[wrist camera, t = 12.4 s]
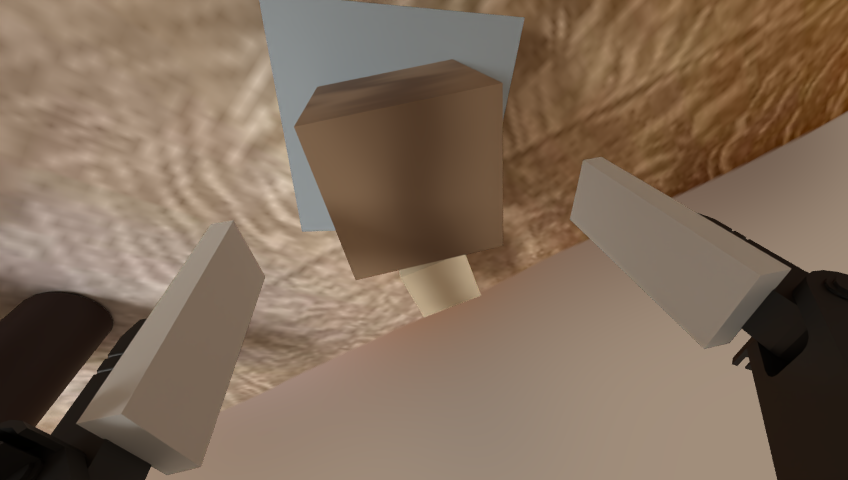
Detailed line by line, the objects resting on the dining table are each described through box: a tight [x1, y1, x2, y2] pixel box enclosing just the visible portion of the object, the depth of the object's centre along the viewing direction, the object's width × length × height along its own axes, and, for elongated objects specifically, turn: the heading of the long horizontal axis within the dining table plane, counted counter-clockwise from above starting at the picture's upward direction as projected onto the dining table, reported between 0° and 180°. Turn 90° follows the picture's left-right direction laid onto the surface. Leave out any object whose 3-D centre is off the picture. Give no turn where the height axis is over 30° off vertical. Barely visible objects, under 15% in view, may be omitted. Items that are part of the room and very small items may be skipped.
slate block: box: [259, 0, 524, 232], centre depth 23 cm, size 14×14×6 cm
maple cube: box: [399, 255, 481, 317], centre depth 31 cm, size 6×6×6 cm
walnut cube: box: [294, 59, 503, 280], centre depth 17 cm, size 8×8×8 cm
